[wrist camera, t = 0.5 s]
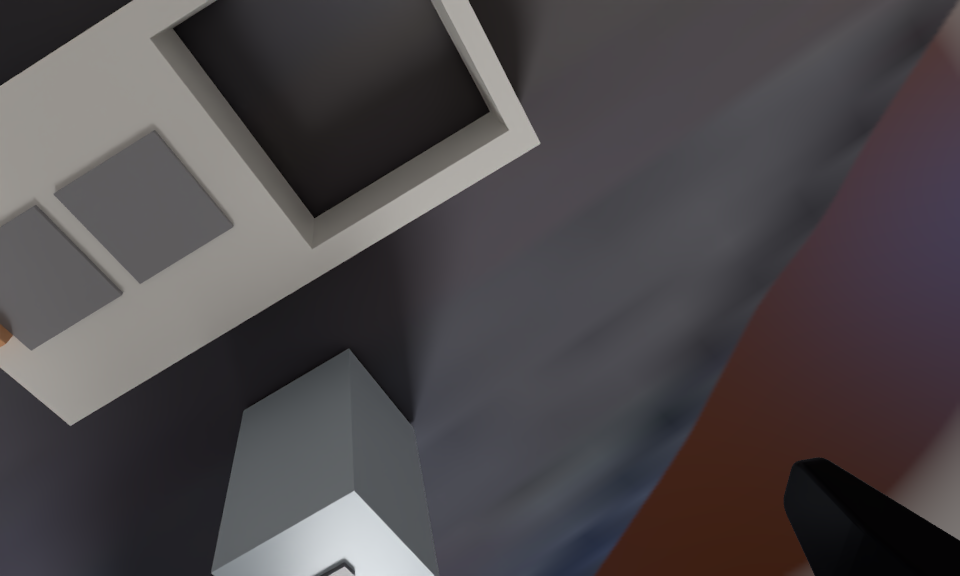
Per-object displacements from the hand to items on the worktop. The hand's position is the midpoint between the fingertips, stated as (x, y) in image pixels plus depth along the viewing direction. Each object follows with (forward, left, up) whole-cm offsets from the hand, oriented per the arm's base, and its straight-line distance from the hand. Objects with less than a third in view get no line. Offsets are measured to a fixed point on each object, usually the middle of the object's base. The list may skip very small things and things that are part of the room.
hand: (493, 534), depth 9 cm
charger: (-6, -5, -14) cm, 16 cm away
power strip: (-3, +5, -13) cm, 15 cm away
